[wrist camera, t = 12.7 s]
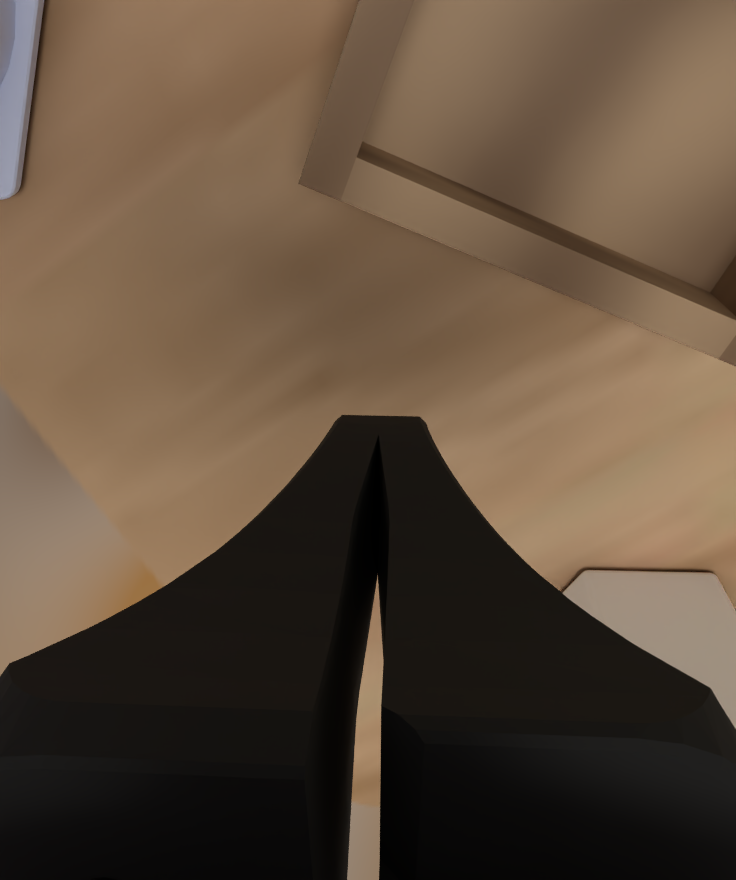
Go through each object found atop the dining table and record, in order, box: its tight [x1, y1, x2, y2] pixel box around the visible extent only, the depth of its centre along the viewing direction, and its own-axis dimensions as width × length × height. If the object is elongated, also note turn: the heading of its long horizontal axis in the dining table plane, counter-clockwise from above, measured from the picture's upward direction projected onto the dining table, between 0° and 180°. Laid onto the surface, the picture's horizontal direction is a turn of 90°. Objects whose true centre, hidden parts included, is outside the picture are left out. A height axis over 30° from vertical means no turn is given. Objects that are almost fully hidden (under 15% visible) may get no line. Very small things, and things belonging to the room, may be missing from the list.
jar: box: [562, 570, 736, 729], centre depth 22 cm, size 9×8×12 cm
